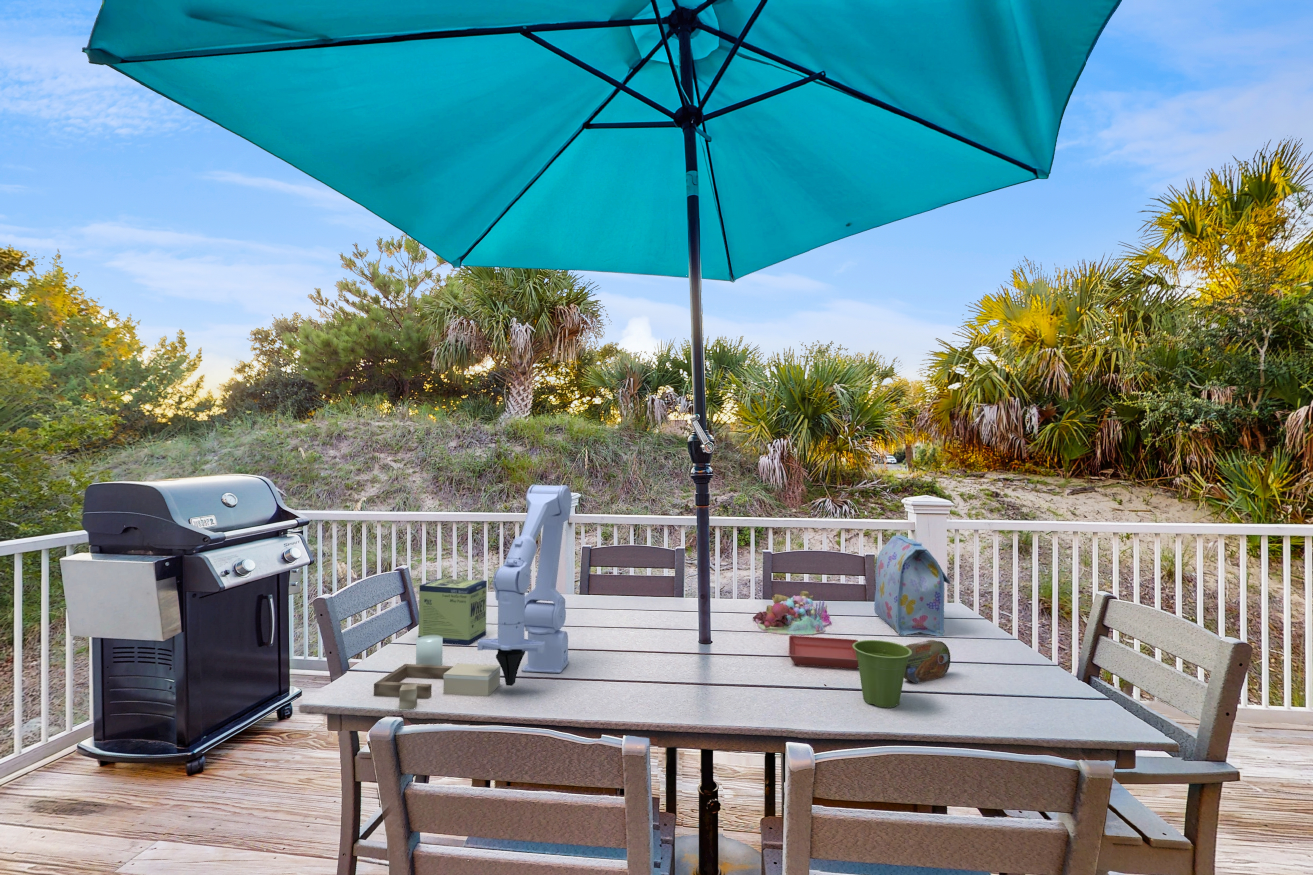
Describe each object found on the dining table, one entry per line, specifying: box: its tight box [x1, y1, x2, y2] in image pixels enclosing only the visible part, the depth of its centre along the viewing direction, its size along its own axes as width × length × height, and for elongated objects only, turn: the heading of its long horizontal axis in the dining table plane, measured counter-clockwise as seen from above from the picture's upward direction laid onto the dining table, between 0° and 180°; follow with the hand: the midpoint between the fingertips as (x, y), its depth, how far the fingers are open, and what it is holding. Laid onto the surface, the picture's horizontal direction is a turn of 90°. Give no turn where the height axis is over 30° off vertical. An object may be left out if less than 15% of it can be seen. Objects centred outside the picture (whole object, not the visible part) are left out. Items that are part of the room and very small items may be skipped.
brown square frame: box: [373, 663, 455, 700], centre depth 143 cm, size 12×13×2 cm
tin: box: [904, 639, 951, 684], centre depth 149 cm, size 15×3×8 cm, turn 117°
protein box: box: [417, 577, 488, 646], centre depth 179 cm, size 10×16×16 cm
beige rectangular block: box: [442, 663, 502, 697], centre depth 141 cm, size 10×7×4 cm
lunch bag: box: [873, 534, 951, 637], centre depth 194 cm, size 22×17×26 cm
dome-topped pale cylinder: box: [415, 635, 444, 666], centre depth 155 cm, size 6×6×7 cm
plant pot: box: [852, 639, 912, 709], centre depth 135 cm, size 12×12×11 cm
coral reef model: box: [752, 590, 832, 637], centre depth 196 cm, size 25×24×9 cm
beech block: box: [398, 684, 418, 710], centre depth 131 cm, size 3×3×4 cm
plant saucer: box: [788, 635, 859, 670], centre depth 164 cm, size 18×18×3 cm
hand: (510, 683), depth 140 cm, fingers closed
